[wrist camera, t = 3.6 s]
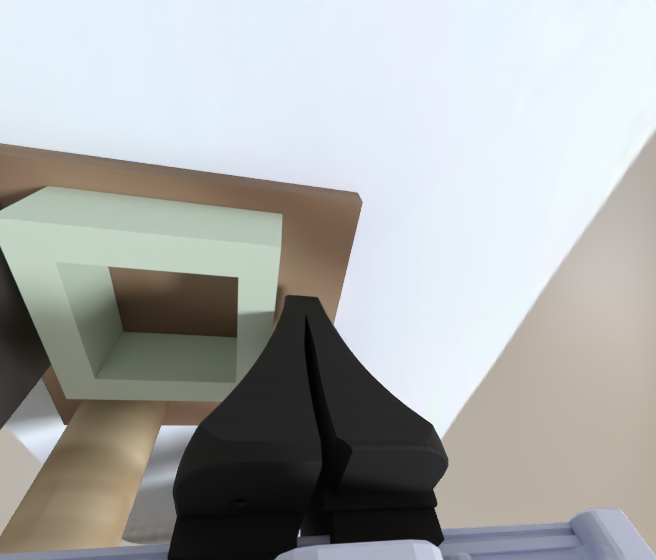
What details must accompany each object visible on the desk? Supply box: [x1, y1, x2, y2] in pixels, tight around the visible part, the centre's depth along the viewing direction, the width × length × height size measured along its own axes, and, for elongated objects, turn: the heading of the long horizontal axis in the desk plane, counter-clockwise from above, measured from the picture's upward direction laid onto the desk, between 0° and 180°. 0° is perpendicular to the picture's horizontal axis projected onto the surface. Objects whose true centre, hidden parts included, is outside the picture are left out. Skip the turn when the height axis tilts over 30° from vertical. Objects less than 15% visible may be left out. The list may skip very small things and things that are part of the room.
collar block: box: [0, 186, 282, 402], centre depth 12 cm, size 7×7×2 cm
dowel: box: [0, 399, 169, 554], centre depth 13 cm, size 4×4×7 cm
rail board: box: [0, 144, 363, 429], centre depth 13 cm, size 14×13×5 cm
